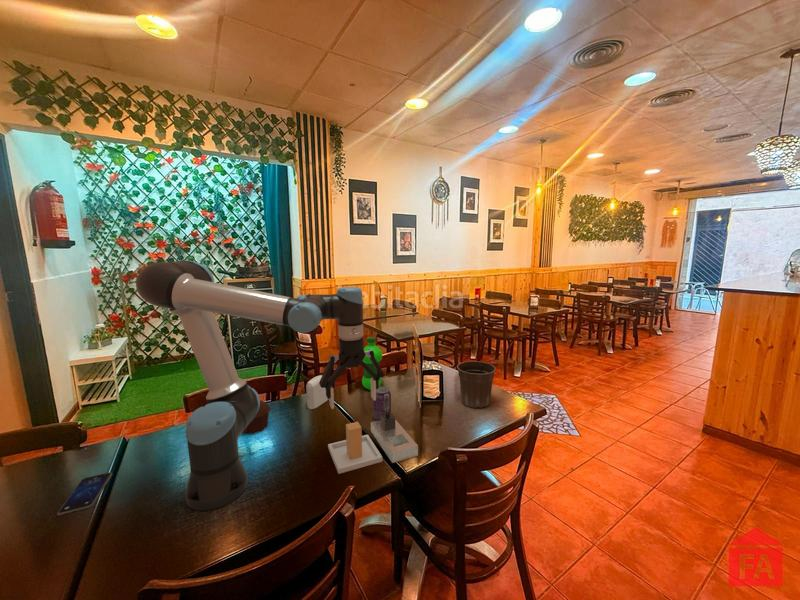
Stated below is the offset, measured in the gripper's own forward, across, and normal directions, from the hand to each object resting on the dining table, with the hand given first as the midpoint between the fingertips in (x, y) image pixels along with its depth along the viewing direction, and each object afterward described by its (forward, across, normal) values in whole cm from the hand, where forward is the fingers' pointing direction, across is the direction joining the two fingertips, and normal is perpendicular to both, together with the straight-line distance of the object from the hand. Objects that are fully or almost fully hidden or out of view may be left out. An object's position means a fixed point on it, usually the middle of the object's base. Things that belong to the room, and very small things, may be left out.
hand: (353, 402), depth 104 cm
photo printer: (+18, -4, +42) cm, 46 cm away
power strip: (+18, +14, +1) cm, 23 cm away
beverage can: (+18, +17, +19) cm, 31 cm away
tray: (+18, 0, 0) cm, 18 cm away
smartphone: (+19, -72, +15) cm, 76 cm away
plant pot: (+19, +59, +15) cm, 63 cm away
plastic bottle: (+18, +23, +48) cm, 56 cm away
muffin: (+18, -29, +33) cm, 48 cm away
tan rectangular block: (+18, 0, 0) cm, 18 cm away
